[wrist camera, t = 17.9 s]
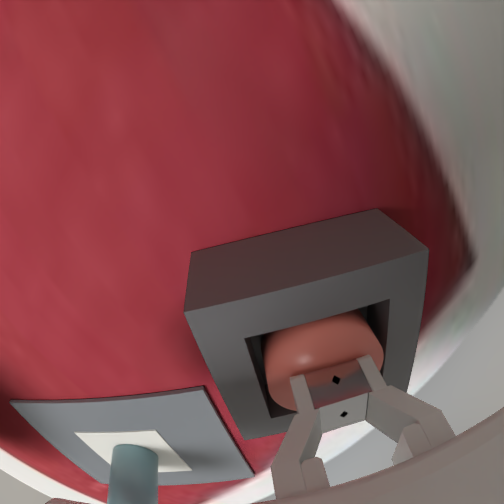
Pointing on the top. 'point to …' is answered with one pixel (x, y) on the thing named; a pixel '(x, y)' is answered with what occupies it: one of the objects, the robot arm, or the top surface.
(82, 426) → the board
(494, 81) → the top surface
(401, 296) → the button housing
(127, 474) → the marker
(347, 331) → the button
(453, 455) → the robot arm
